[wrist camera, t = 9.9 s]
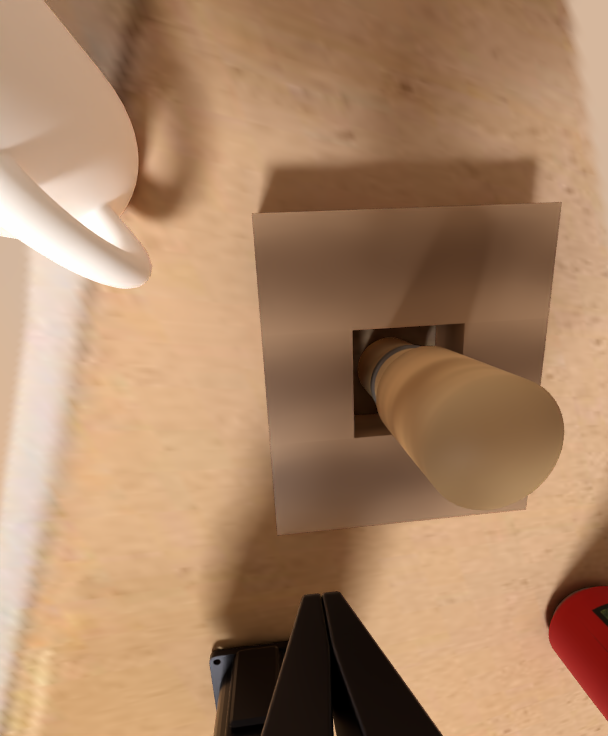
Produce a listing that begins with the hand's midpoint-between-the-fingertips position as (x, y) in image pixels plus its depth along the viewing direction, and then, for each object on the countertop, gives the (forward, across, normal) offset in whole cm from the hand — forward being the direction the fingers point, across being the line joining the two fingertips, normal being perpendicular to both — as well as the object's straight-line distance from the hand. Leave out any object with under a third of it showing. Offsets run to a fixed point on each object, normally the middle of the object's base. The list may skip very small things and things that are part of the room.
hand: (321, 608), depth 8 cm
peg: (+13, -6, -2) cm, 14 cm away
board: (+13, -6, -2) cm, 14 cm away
